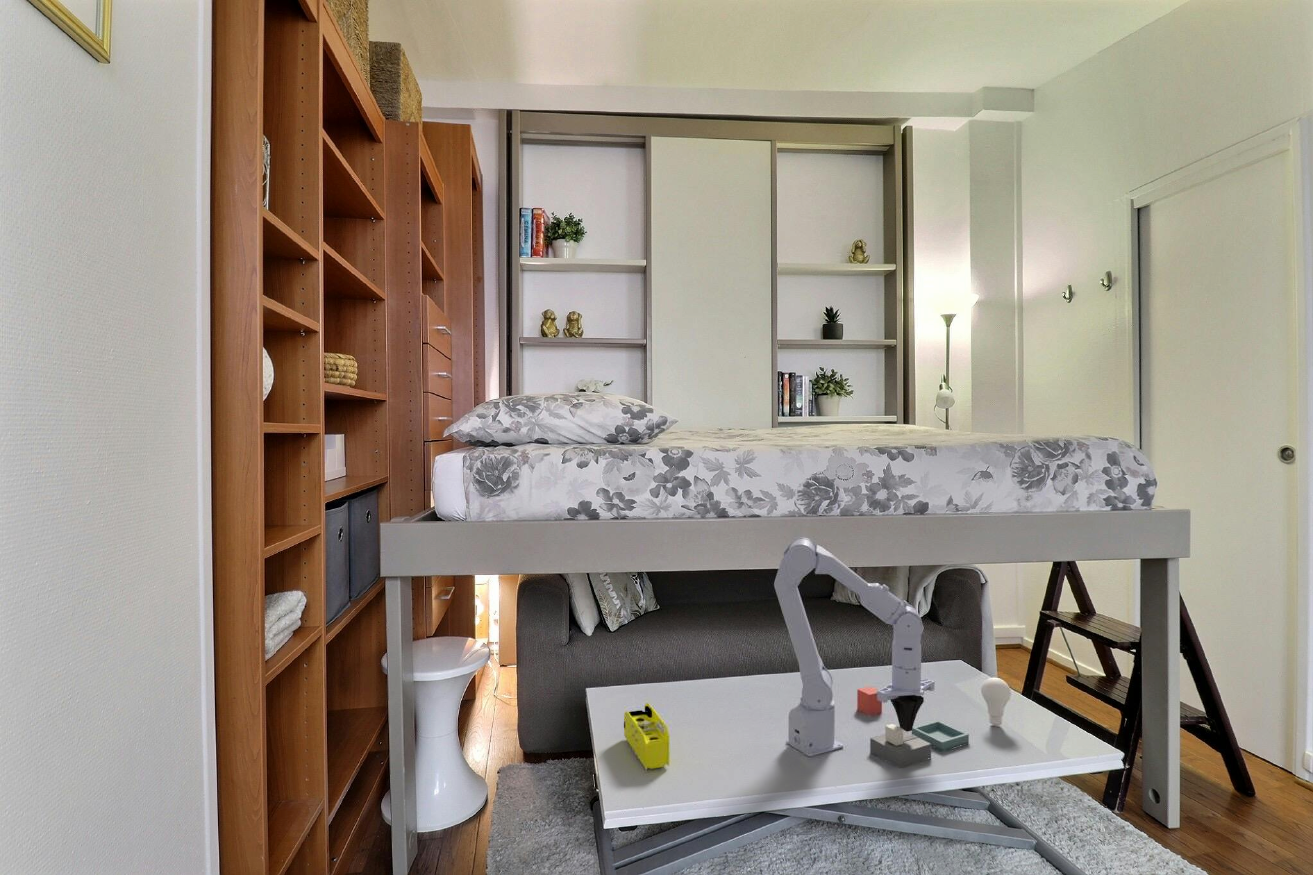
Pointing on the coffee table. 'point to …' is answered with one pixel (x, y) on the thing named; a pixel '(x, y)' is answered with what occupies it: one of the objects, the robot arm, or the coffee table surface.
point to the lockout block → (868, 701)
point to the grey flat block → (901, 750)
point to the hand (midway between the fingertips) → (905, 729)
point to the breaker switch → (894, 734)
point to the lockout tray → (941, 735)
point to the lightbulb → (995, 698)
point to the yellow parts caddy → (647, 737)
